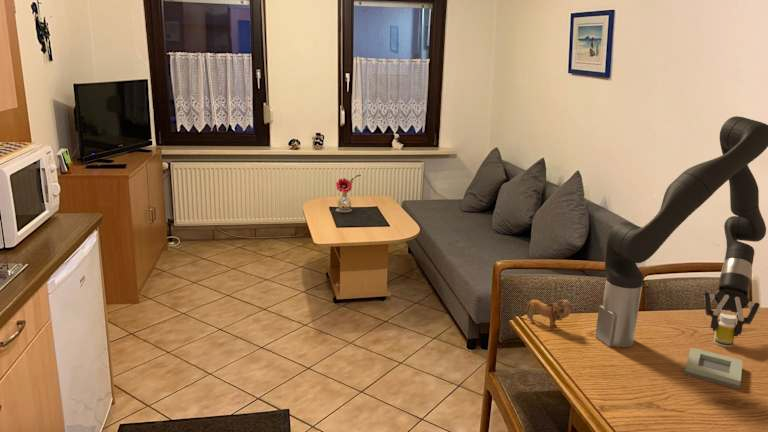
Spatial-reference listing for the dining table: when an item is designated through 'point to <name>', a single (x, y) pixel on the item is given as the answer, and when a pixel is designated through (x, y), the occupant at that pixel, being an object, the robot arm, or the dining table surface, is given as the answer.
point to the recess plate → (714, 368)
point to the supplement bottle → (725, 330)
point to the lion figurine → (549, 311)
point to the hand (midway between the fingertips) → (725, 332)
